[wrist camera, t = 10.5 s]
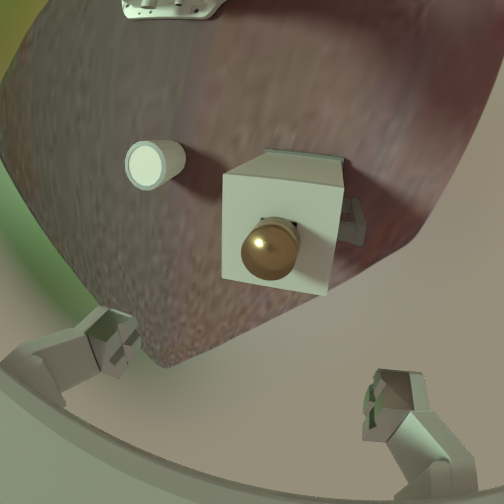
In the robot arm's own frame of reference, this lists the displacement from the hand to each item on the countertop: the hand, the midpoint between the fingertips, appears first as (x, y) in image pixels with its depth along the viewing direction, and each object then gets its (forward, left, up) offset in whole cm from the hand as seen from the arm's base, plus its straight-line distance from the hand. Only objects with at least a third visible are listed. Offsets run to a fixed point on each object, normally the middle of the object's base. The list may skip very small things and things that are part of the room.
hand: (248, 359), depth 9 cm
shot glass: (-22, 0, -34) cm, 41 cm away
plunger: (-2, -3, -33) cm, 33 cm away
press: (-1, -3, -34) cm, 34 cm away
